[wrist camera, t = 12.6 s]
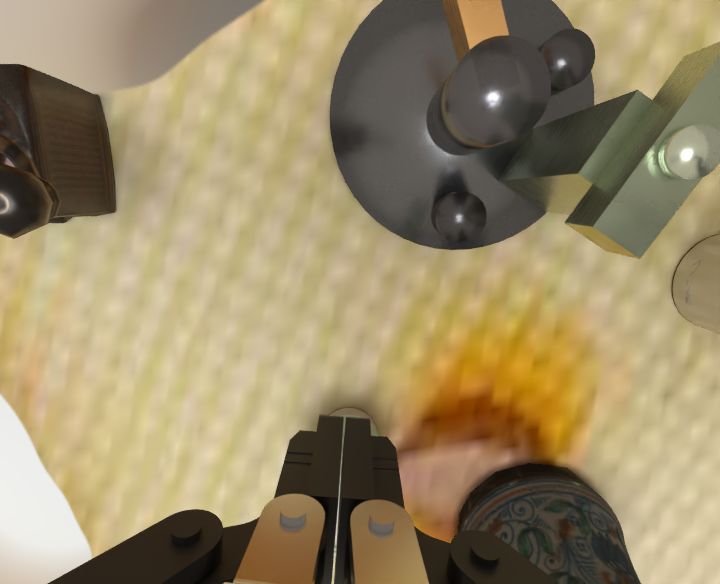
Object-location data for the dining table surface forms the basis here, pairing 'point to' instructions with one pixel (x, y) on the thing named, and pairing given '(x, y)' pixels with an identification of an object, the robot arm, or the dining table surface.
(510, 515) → the beer stein
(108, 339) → the dining table surface
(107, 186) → the manual coffee grinder
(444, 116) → the wooden handled mallet
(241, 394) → the dining table surface
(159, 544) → the robot arm
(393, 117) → the base
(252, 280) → the dining table surface
